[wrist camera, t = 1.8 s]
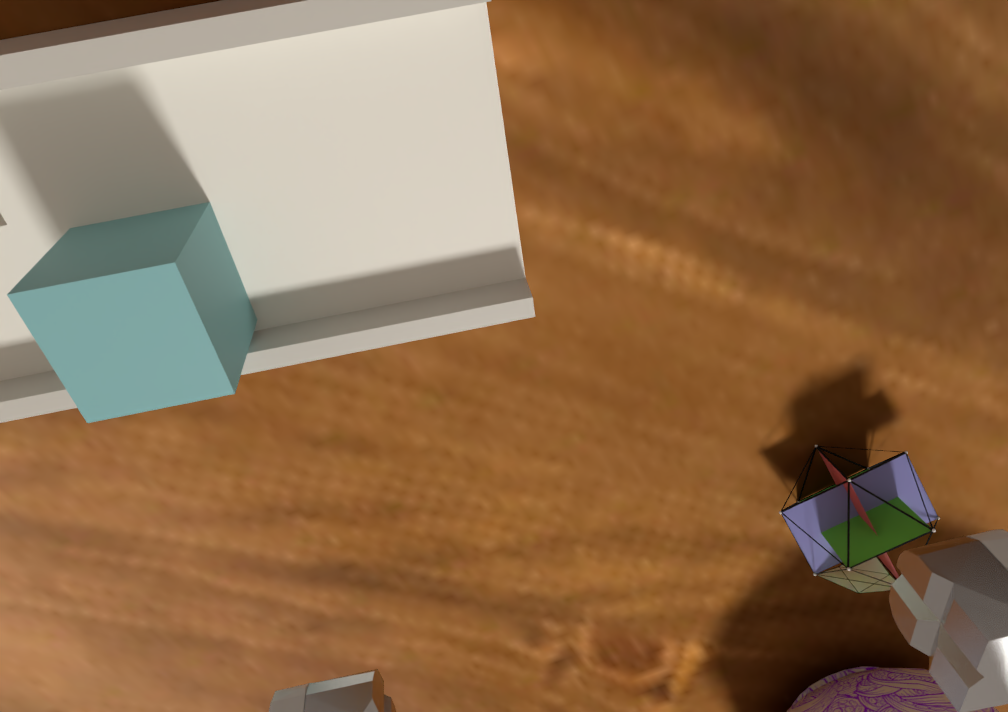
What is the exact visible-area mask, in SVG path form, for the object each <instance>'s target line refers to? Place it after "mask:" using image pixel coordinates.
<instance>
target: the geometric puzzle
mask: <svg viewBox="0 0 1008 712" xmlns="http://www.w3.org/2000/svg"><path fill="white" fill-rule="evenodd" d="M821 447H823V446H818V445H815V448H814V450H813V452H812V454H813V456H812V454H811V456H812V459H811V462H810V465H809V468H808V471H807V475H808V472H809V469H810V466H811V463H812V460H813V457H814V453H815V450H816V449H817V450H818V451H819V453H820V455H821V457H822V459H823V461H824V463H825V464H826V466H827V468H828V470H829V472H830V474H831V476H832V478H833V480H834V482H835V484H834V485H832V486H829V487H827V488H825V489H823V490H821V491H819V492H817V493H815V494H813V495H811V496H809V497H806V498H804V499H802V500H800V497H801V494H802V491H803V488H804V485H805V482H806V479H807V475H806V478H805V481H804V484H803V487H802V490H801V494H800V497H799V500H798V501H797V502H796V503H795V504H793V505H791V506H789V507H787V508H785V509H784V510H783V508H784V506H785V504H786V502H787V501H786V502H785V504H784V506H783V508H782V510H781V511H779V514H782V516H783V518H784V520H785V522H786V523H787V525H788V527H789V529H790V531H791V532H792V534H793V536H794V538H795V540H796V542H797V543H798V545H799V547H800V549H801V551H802V552H803V554H804V556H805V558H806V560H807V562H808V563H809V565H810V567H811V569H812V571H813V572H814V573H813V575H814V576H816V575H817V576H819V577H822V578H824V579H826V580H829V581H831V582H833V583H836V584H838V585H840V586H843V587H845V588H847V589H850V590H852V591H854V592H856V593H868V592H880V591H890V589H891V584H892V583H893V582H894V581H895V579H898V578H899V576H898V574H897V572H896V570H895V568H894V566H893V564H892V562H891V560H890V558H889V557H888V555H887V553H886V552H889V551H891V550H893V549H895V548H897V547H900V546H902V545H904V544H906V543H908V542H911V541H913V540H915V539H917V538H919V537H922V536H924V535H926V534H928V533H930V532H931V533H933V532H936V530H935V526H936V523H937V521H938V520H939V519H940V517H938V516H937V514H936V512H935V510H934V508H933V506H932V504H931V502H930V500H929V498H928V496H927V494H926V492H925V490H924V487H923V485H922V483H921V481H920V479H919V477H918V475H917V473H916V471H915V469H914V467H913V465H912V463H911V461H910V459H909V457H908V455H907V454H908V452H907V451H905V452H903V453H900V454H898V455H896V456H894V457H892V458H889V459H887V460H885V461H883V462H880V463H878V464H876V465H874V466H871V467H867V468H866V467H864V466H862V465H860V464H857V463H855V462H853V461H850V460H848V459H846V458H844V457H841V456H839V455H837V454H834V453H832V452H830V451H828V450H825V449H823V448H821ZM832 448H838V447H832ZM820 449H821V450H823V451H826V452H828V453H830V454H833V455H835V456H837V457H840V458H842V459H844V460H846V461H849V462H851V463H853V464H856V465H858V466H860V467H863V468H865V470H863V471H861V472H859V473H857V474H855V475H852V476H850V477H848V478H847V477H846V476H845V475H844V474H843V473H842V472H841V470H840V469H839V468H838V467H837V466H836V465H835V464H834V463H833V462H832V461H831V460H830V459H829V458H828V457H827V456H826V455H825V454H824V453H823V452H822V451H821V450H820ZM847 449H853V448H847ZM862 450H868V449H862ZM877 451H883V450H877ZM892 452H898V451H892ZM811 456H810V457H811ZM809 459H810V458H809ZM808 461H809V460H808ZM808 461H807V463H808ZM807 463H806V465H807ZM806 465H805V467H806ZM805 467H804V469H805ZM804 469H803V470H804ZM802 472H803V471H802ZM801 474H802V473H801ZM801 474H800V476H801ZM800 476H799V478H800ZM799 478H798V480H799ZM798 480H797V482H798ZM797 482H796V483H797ZM795 485H796V484H795ZM794 487H795V486H794ZM793 489H794V488H793ZM793 489H792V491H793ZM792 491H791V493H792ZM791 493H790V495H791ZM790 495H789V497H790ZM789 497H788V498H789ZM787 500H788V499H787ZM936 519H937V521H936V523H935V525H934V528H933V526H932V524H931V521H933V520H936ZM928 522H930V524H931V527H932V528H931V527H930V526H929V525H927V524H926V523H928ZM930 535H932V534H930ZM929 537H931V536H929ZM929 539H930V538H928V541H929ZM928 541H927V543H926V545H927V544H928ZM879 560H880V561H881V562H880V561H879ZM842 562H843V563H842ZM839 563H841V564H842V565H840V566H839V567H836V568H833V569H830V570H827V571H824V570H825V569H828V568H830V567H832V566H834V565H836V564H839ZM882 564H883V565H884V566H885V567H886V568H885V567H884V566H883V565H882ZM886 569H887V570H888V571H889V572H890V573H891V574H892V576H893V577H894V578H895V579H894V578H893V577H892V576H891V575H890V574H889V572H888V571H887V570H886ZM822 571H824V572H822ZM820 572H821V573H820Z"/></svg>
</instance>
